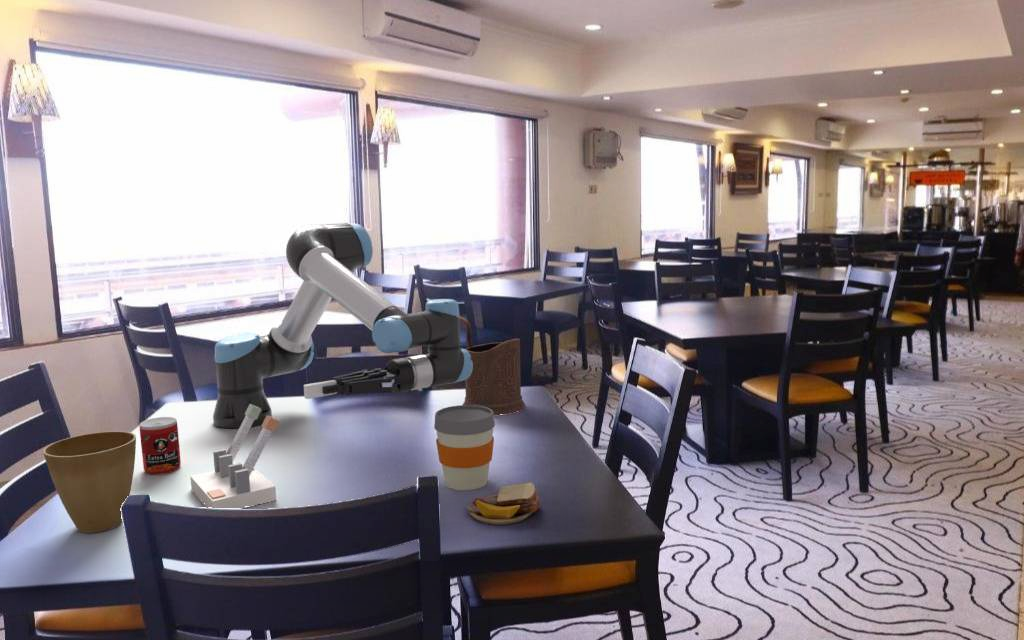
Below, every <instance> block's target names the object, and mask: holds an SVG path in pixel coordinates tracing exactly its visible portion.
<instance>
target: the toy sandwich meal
mask: <svg viewBox="0 0 1024 640" xmlns="http://www.w3.org/2000/svg"><path fill="white" fill-rule="evenodd" d="M540 503H541V502H540V497H539V494H537V491H536V486H535V485H534V483H533V482H527V483H520V484H513V485H505V486H501V487H499V488H498V493H497V494H492V495H484V496H483V497H479V498H474V499H473V501H472V502H471V503H469V504H468V505H467V510H468V513H469V515H470V516H472V517H473V518H474V519H475V520H477V521H478V520H479V522H481V521H482V522H481V523H484V522H485V524H488V523H490V525H508V524H509V525H510V524H515V523H518V522H521V521H524V520H526V519H527V518H528V517H529V516H530V515H531V514H533V513H535V512H537V511H538V509H539V507H540Z"/></svg>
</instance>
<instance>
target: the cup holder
mask: <svg viewBox="0 0 1024 640" xmlns="http://www.w3.org/2000/svg"><path fill="white" fill-rule="evenodd" d="M460 322H462V323H463V324H464V326H465V342H466V345H467V348H464V349H465V350H467V351H468V352H469V354H470V356H471V361H472V362H473V369H472V373H471V375H470V377H469V378H467V379H466V380H464V385H465V389H464V390H465V397H464V402H463V403H462V405H476V406H483V407H487V408H490V409H491V410H493V414H494V415H499V416H501V415H500V414H508V415H510V414H509V413H513V414H515V413H514V412H517V411H520V410H522V409H524V408H525V409H526V407H527V405H526V403H525V401H524V400H523V396H522V393H521V391H522V390H521V389H522V386H521V384H522V383H521V381H522V380H521V377H522V376H521V339H520V338H513V339H510V340H509V339H508V340H505V341H504V342H489V343H483V344H478V345H473V344H472V329H471V327H472V326H471V323H470V322H469V320H468V319H466V318H465V317H463V316H460ZM525 405H526V406H525ZM525 409H524V410H525ZM522 411H523V410H522ZM520 412H521V411H520ZM517 413H518V412H517Z"/></svg>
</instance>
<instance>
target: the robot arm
mask: <svg viewBox="0 0 1024 640" xmlns="http://www.w3.org/2000/svg"><path fill="white" fill-rule="evenodd" d="M373 249H374V248H373V242H372V239H371V236H370V234H369V232H368V231H367V230H366V228H365V227H363V226H362V225H361V224H359V223H352V222H342V223H341V222H340V223H325V224H324V223H323V224H307V225H304V226H302V227H300V228H298V229H296V230H295V231H294V232H293V233H292V234H291V236H290V237H289V238H288V241H287V244H286V248H285V254H286V255H285V257H286V260H287V263H288V265H289V267H290V268H291V270H292V271H293V273H294V274H296V275H297V276H298V277H299V278H300V279H301V280H303V281H302V283H301V285H300V287H299V289H298V291H297V292H296V294H295V296H294V298H293V300H292V302H291V303H290V306H289V307H288V309H287V311H286V313H285V315H284V317H283V318H282V320H279V321H277V322H275V323H274V324H273V325H272V327H271V328H270V331H269V333H268V334H266V335H262V336H260V334H258V333H256V332H242V333H237V334H232V335H228V336H226V337H222V338H221V339H219V340H218V341H217V342H216V343H215V346H214V362H215V371H216V372H215V373H216V384H217V400H216V402H215V406H214V411H213V415H212V420H213V421H212V422H213V425H214V426H215V427H216V428H217V427H218V428H222V429H239V428H240V426H241V424H242V422H243V420H244V418H245V416H246V415H245V412H246V410H247V408H248V406H249V404H252V405H254V406H257V407H259V408H260V409H262V410H261V412H260V414H259V416H258V418H257V420H254V422H253V424H252V425H251V427H255V426H259V425H262V424H263V422H264V420H265V418H266V416H267V415H268V416H271V417H273V413H272V408H271V405H270V403H269V401H268V398H267V396H266V393H265V392H264V381H263V379H267V378H272V377H277V376H281V375H286V374H293V373H296V372H299V371H302V370H304V369H306V368H307V367H309V365H310V364H311V363H312V361H313V358H314V356H315V353H314V351H315V345H314V342H313V339H312V334H313V332H314V331H315V328H316V327H317V325H318V324H319V322H320V319H321V318H322V316H323V315H324V313H325V311H326V309H327V308H328V306H329V304H330V303H331V301H332V300H334V301H335V302H336V303H337V304H339V305H340V306H341V307H342V308H343V309H344V310H346V311H347V312H348V313H350V314H351V315H352V316H353V317H355V318H356V319H357V320H358V321H360V322H361V323H362V324H363V325H364V326H366V327H367V328H368V329H369V330H370V331H371V337H372V341H373V343H374V344H375V347H376V349H378V351H380V352H382V353H384V354H392V353H402V352H405V351H409V350H413V349H417V348H420V347H425V346H427V352H428V353H426V354H418V355H417V354H416V355H412V356H406V357H400V358H394V359H390V360H389V361H388V362H386V365H385V368H384V369H382V368H381V367H379V368H374V369H372V370H369V368H364V369H362V370H359V371H353V372H350V373H345V374H341V375H338V376H337V375H336V376H333V377H332V378H331V380H330V379H329V380H324V381H317V382H313V383H307V384H303V396H304V399H306V400H309V399H315V398H322V397H326V396H333V395H334V396H336V395H337V396H338V394H339V395H343V394H344V395H345V396H349V395H356V394H365V393H374V392H382V391H383V392H384V391H385V392H386V391H389V392H390V391H391V392H392V393H394V394H403V393H407V392H411V391H414V390H415V391H416V390H417V391H419V392H422V391H423V389H426V388H431V387H437V386H442V385H443V386H444V385H449V384H451V385H452V384H455V383H459V382H462V381H465V380H466V379H467V378H469V377H470V375H471V373H472V369H473V362H472V361H471V356H470V354H469V352H468V351H467V350H465V349H466V348H462V347H461V325H460V324H461V323H460V322H461V321H460V317H461V316H460V309H459V303H458V301H457V300H455V299H451V298H438V299H437V298H434V299H431V300H428V301H427V302H426V303H425V309H424V311H419V312H415V313H414V312H413V313H405V311H403V310H402V309H400V308H399V307H398V306H396V305H395V304H394V303H392V302H391V301H390V300H389V299H387V298H386V297H385V296H383V295H382V294H381V293H380V292H378V291H377V290H376V289H374V288H373V286H371V285H370V284H368V283H367V282H366V281H365V280H363V279H362V278H361V277H359V276H358V275H356V274H355V273H354V272H355V271H356V270H357V269H364V268H365V267H368V266H369V265H370V263H371V262H372V259H373V253H374V250H373Z"/></svg>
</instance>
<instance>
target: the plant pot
mask: <svg viewBox="0 0 1024 640" xmlns="http://www.w3.org/2000/svg"><path fill="white" fill-rule="evenodd" d="M136 444H137V436H136V434H134V433H133V432H129V431H124V430H123V431H121V430H113V431H111V430H108V431H99V432H98V431H97V432H90V433H84V434H80V435H75V436H71V437H67V438H64V439H60V440H58V441H55V442H53V443H51V444H49V445H47V446H46V447H44V449H43V450H42V451H43V452H42V453H43V455H44V459H45V463H46V465H47V468H48V469H47V470H48V472H49V475H50V477H51V480H52V483H53V485H54V488H55V490H56V492H57V494H58V496H59V499H60V501H61V503H62V504H63V505H62V506H63V507H64V509H65V510H66V513H67V514H68V516H69V518H70V519H71V521H72V523H73V524H74V526H75V528H76V529H77V530H78V532H80V533H84V534H93V533H94V534H95V533H102V532H104V531H109V530H111V529H114V528H116V527H119V525H121V524H122V523H123V521H122V519H121V511H120V508H121V505H122V503H123V502H124V501H125V499H126V498H127V496H129V497H130V496H131V495H130V494H131V490H132V485H133V478H134V471H135V462H136V451H137V450H136V446H137V445H136ZM120 523H121V524H120Z"/></svg>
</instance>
